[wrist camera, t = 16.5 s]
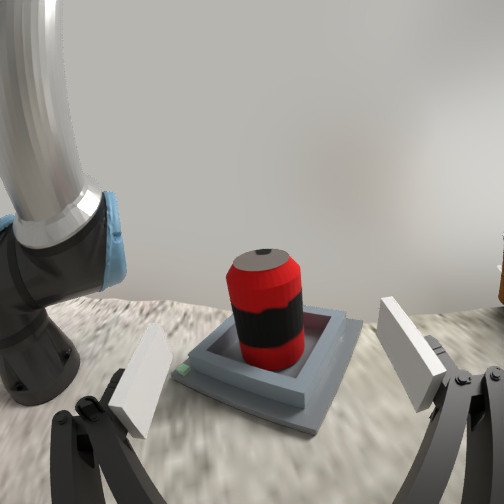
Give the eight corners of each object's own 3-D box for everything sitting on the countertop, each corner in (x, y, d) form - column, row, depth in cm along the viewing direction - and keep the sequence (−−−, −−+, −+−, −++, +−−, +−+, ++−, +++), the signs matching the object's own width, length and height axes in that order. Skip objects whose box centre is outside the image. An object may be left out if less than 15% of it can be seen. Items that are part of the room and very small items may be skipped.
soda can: (303, 330, 34) (297, 243, 30) (305, 370, 27) (300, 272, 23) (246, 333, 36) (231, 249, 32) (237, 373, 29) (215, 278, 25)
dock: (173, 379, 30) (164, 358, 29) (250, 307, 44) (247, 288, 43) (315, 435, 20) (317, 415, 19) (362, 326, 34) (364, 305, 33)
